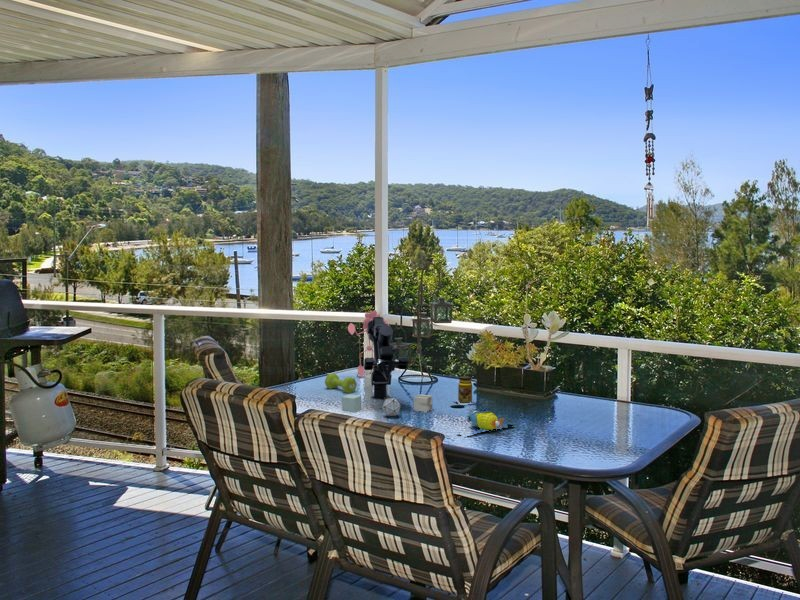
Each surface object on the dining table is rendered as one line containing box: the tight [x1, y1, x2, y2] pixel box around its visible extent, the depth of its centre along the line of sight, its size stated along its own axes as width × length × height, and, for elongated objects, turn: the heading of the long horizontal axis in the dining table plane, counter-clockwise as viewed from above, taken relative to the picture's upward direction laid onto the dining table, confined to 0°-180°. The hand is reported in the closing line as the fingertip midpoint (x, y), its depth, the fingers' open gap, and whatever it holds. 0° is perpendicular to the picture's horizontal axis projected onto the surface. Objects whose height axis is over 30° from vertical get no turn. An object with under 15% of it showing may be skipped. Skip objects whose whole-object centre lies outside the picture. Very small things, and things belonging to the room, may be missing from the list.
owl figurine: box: [466, 409, 505, 431], centre depth 290 cm, size 28×9×15 cm
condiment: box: [457, 375, 473, 403], centre depth 334 cm, size 7×8×12 cm
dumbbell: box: [324, 373, 358, 394], centre depth 359 cm, size 16×8×7 cm, turn 44°
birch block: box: [413, 394, 433, 413], centre depth 321 cm, size 6×6×6 cm
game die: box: [379, 396, 404, 419], centre depth 310 cm, size 9×8×10 cm
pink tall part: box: [347, 309, 390, 378], centre depth 389 cm, size 15×26×35 cm, turn 134°
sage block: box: [341, 393, 362, 413], centre depth 320 cm, size 6×6×6 cm
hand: (387, 379), depth 317 cm, fingers closed
